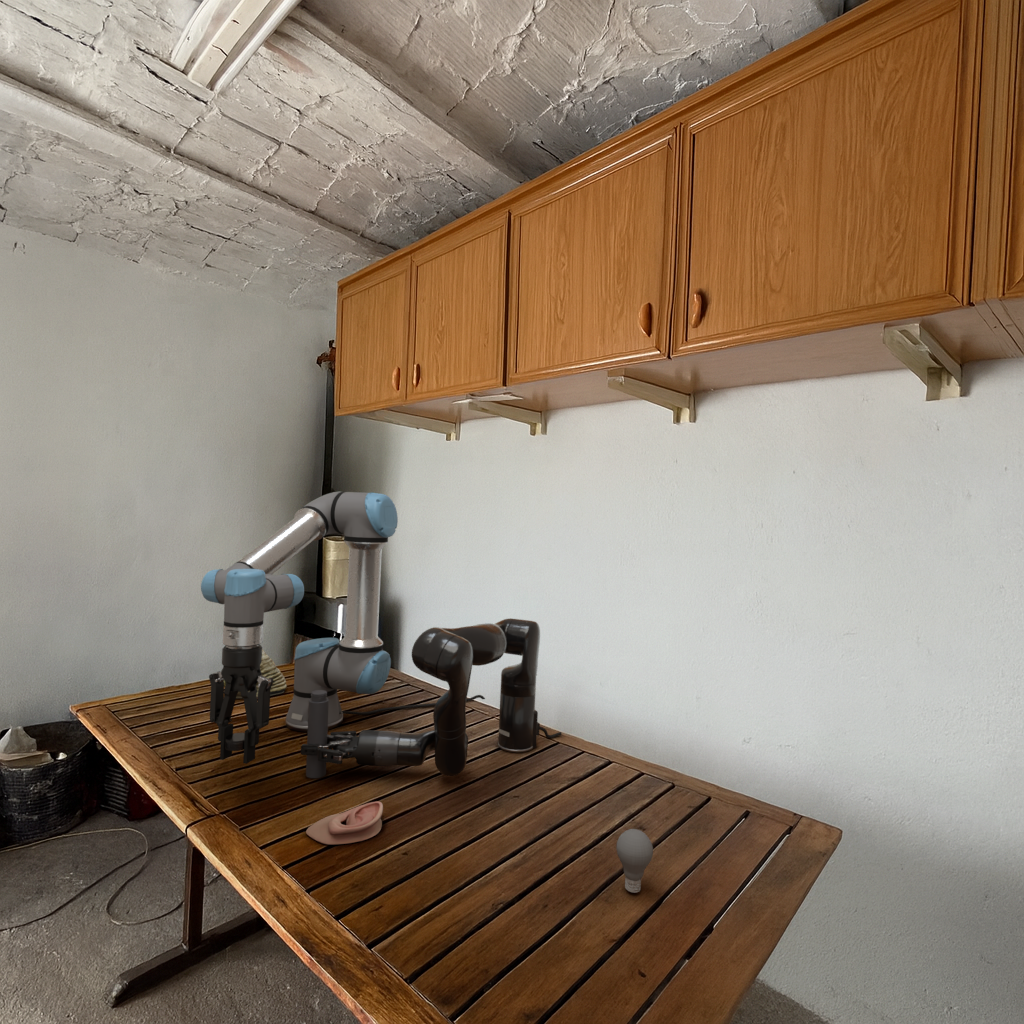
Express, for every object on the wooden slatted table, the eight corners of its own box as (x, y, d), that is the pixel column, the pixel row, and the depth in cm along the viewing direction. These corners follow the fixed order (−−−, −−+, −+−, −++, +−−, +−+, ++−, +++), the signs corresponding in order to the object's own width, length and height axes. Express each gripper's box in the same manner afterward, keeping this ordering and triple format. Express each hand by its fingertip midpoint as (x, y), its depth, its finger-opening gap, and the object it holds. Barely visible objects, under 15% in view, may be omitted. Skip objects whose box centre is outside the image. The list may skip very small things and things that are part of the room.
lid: (242, 740, 133) (242, 730, 133) (255, 746, 130) (256, 736, 130) (219, 746, 129) (220, 736, 129) (233, 753, 126) (233, 743, 126)
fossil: (218, 695, 195) (220, 647, 195) (278, 685, 208) (279, 640, 207) (228, 703, 189) (230, 653, 188) (289, 692, 201) (290, 645, 201)
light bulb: (610, 879, 108) (613, 822, 108) (644, 879, 109) (647, 822, 109) (619, 902, 102) (622, 840, 102) (655, 901, 103) (658, 840, 103)
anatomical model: (298, 818, 116) (328, 791, 128) (297, 839, 116) (327, 810, 128) (365, 829, 114) (390, 800, 125) (364, 851, 114) (389, 820, 125)
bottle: (324, 778, 143) (327, 695, 142) (304, 778, 142) (307, 695, 142) (327, 769, 147) (330, 689, 147) (307, 770, 146) (310, 689, 146)
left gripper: (192, 644, 128) (187, 759, 128) (269, 653, 123) (264, 772, 124) (217, 637, 135) (212, 746, 135) (291, 645, 131) (286, 758, 131)
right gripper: (386, 720, 151) (314, 717, 151) (373, 743, 137) (294, 740, 137) (385, 752, 152) (313, 749, 151) (372, 778, 137) (293, 774, 137)
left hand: (237, 758), depth 129 cm, fingers closed on lid, 5 cm apart
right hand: (305, 745), depth 144 cm, fingers closed on bottle, 4 cm apart
